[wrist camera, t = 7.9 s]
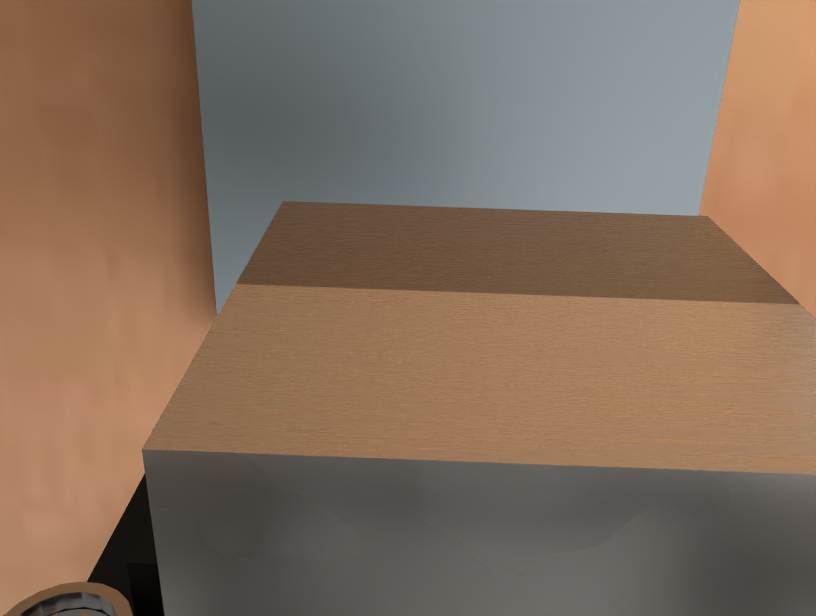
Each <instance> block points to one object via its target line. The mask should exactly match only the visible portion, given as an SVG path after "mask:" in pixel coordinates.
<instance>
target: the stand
mask: <svg viewBox="0 0 816 616" xmlns="http://www.w3.org/2000/svg"><path fill="white" fill-rule="evenodd" d="M739 4H740V0H192V12H193V25H194V37H195V50H196V62H197V74H198V87H199V99H200V112H201V124H202V136H203V149H204V161H205V174H206V186H207V198H208V211H209V223H210V236H211V248H212V260H213V273H214V285H215V298H216V310H217V316H218V314H219V312H220V311H221V309H222V307H223V305H224V304H225V302H226V300H227V298H228V297H229V295H230V293H231V291H232V290H233V288H234V286H235V284H236V282H237V281H238V279H239V277H240V275H241V274H242V272H243V270H244V268H245V267H246V265H247V263H248V261H249V260H250V258H251V256H252V254H253V252H254V251H255V249H256V247H257V245H258V244H259V242H260V240H261V238H262V237H263V235H264V233H265V231H266V230H267V228H268V226H269V224H270V222H271V221H272V219H273V217H274V215H275V214H276V212H277V210H278V208H279V207H280V205H281V203H282V201H297V202H325V203H353V204H381V205H409V206H436V207H464V208H492V209H520V210H548V211H576V212H604V213H632V214H659V215H687V216H698V214H699V209H700V204H701V199H702V194H703V188H704V183H705V178H706V173H707V168H708V163H709V158H710V153H711V148H712V142H713V137H714V132H715V127H716V122H717V117H718V112H719V107H720V101H721V96H722V91H723V86H724V81H725V76H726V71H727V66H728V60H729V55H730V50H731V45H732V40H733V35H734V30H735V25H736V19H737V14H738V9H739Z"/></svg>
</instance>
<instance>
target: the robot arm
mask: <svg viewBox="0 0 816 616" xmlns="http://www.w3.org/2000/svg"><path fill="white" fill-rule="evenodd" d="M3 616H165V615H164V607H163V600H162V593H161V585H160V578H159V571H158V563H157V556H156V549H155V541H154V534H153V527H152V519H151V512H150V505H149V497H148V490H147V483H146V475H145V474H144V476H143V478H142V480H141V482H140V484H139V485H138V487H137V489H136V491H135V493H134V495H133V497H132V498H131V500H130V502H129V504H128V506H127V508H126V510H125V512H124V513H123V515H122V517H121V519H120V521H119V523H118V525H117V526H116V528H115V530H114V532H113V534H112V536H111V538H110V540H109V541H108V543H107V545H106V547H105V549H104V551H103V553H102V554H101V556H100V558H99V560H98V562H97V564H96V566H95V568H94V569H93V571H92V573H91V575H90V577H89V579H88V581H87V582H76V583H68V584H61V585H58V586H54V587H51V588H48V589H45V590H42V591H39V592H37V593H36V594H34V595H32V596H30V597H28V598H26V599H25V600H23V601H21V602H19V603H18V604H17V605H15V606H14V607H13V608H12V609H11V610H9V611H8V612H7V613H6V614H5V615H3Z"/></svg>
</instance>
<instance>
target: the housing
mask: <svg viewBox="0 0 816 616" xmlns="http://www.w3.org/2000/svg"><path fill="white" fill-rule="evenodd" d="M142 453H143V461H144V468H145V475H146V483H147V490H148V497H149V505H150V512H151V519H152V527H153V534H154V541H155V549H156V556H157V563H158V571H159V578H160V585H161V593H162V600H163V607H164V615H165V616H816V318H815V317H814V316H813V315H812V314H811V313H810V312H809V311H808V310H807V309H805V308H804V307H803V306H802V305H801V304H800V303H799V302H798V301H797V300H796V299H795V298H794V297H793V296H792V295H791V294H790V293H788V292H787V291H786V290H785V289H784V288H783V287H782V286H781V285H780V284H779V283H778V282H777V281H776V280H775V279H774V278H773V277H771V276H770V275H769V274H768V273H767V272H766V271H765V270H764V269H763V268H762V267H761V266H760V265H759V264H758V263H757V262H756V261H754V260H753V259H752V258H751V257H750V256H749V255H748V254H747V253H746V252H745V251H744V250H743V249H742V248H741V247H740V246H739V245H737V244H736V243H735V242H734V241H733V240H732V239H731V238H730V237H729V236H728V235H727V234H726V233H725V232H724V231H723V230H722V229H720V228H719V227H718V226H717V225H716V224H715V223H714V222H713V221H712V220H711V219H710V218H709V217H708V216H687V215H659V214H632V213H604V212H576V211H548V210H520V209H492V208H464V207H436V206H409V205H381V204H353V203H325V202H297V201H282V203H281V205H280V207H279V208H278V210H277V212H276V214H275V215H274V217H273V219H272V221H271V222H270V224H269V226H268V228H267V230H266V231H265V233H264V235H263V237H262V238H261V240H260V242H259V244H258V245H257V247H256V249H255V251H254V252H253V254H252V256H251V258H250V260H249V261H248V263H247V265H246V267H245V268H244V270H243V272H242V274H241V275H240V277H239V279H238V281H237V282H236V284H235V286H234V288H233V290H232V291H231V293H230V295H229V297H228V298H227V300H226V302H225V304H224V305H223V307H222V309H221V311H220V312H219V314H218V316H217V318H216V320H215V321H214V323H213V325H212V327H211V328H210V330H209V332H208V334H207V335H206V337H205V339H204V341H203V342H202V344H201V346H200V348H199V350H198V351H197V353H196V355H195V357H194V358H193V360H192V362H191V364H190V365H189V367H188V369H187V371H186V372H185V374H184V376H183V378H182V380H181V381H180V383H179V385H178V387H177V388H176V390H175V392H174V394H173V395H172V397H171V399H170V401H169V402H168V404H167V406H166V408H165V410H164V411H163V413H162V415H161V417H160V418H159V420H158V422H157V424H156V425H155V427H154V429H153V431H152V432H151V434H150V436H149V438H148V440H147V441H146V443H145V445H144V447H143V448H142Z"/></svg>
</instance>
